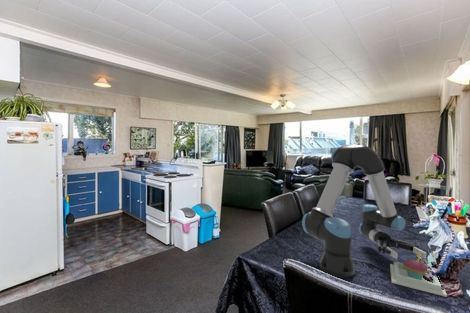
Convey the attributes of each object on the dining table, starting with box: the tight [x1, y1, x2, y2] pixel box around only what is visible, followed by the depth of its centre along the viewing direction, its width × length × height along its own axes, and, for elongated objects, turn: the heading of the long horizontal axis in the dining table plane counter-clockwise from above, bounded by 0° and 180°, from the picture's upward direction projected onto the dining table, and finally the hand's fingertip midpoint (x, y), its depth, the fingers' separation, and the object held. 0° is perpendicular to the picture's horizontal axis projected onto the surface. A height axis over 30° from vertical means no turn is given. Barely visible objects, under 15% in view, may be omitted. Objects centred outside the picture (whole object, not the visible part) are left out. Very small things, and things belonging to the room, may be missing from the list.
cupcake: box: [403, 251, 428, 280], centre depth 103 cm, size 9×8×12 cm
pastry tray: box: [389, 261, 448, 298], centre depth 104 cm, size 18×18×3 cm
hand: (411, 255), depth 107 cm, fingers open, 13 cm apart
